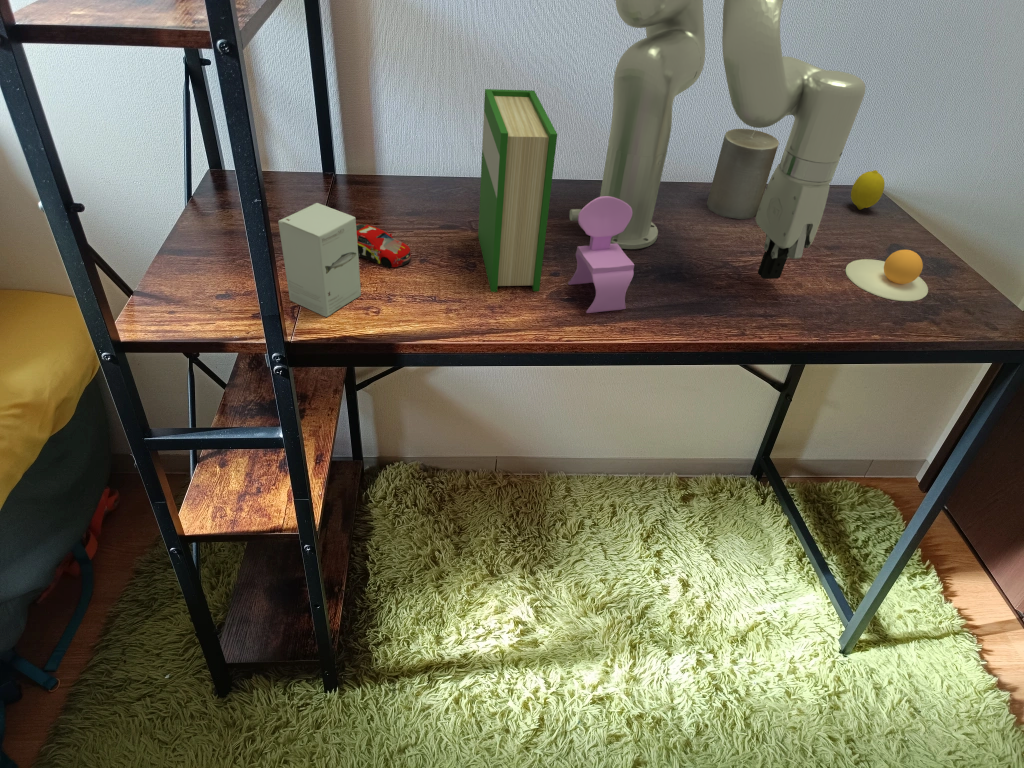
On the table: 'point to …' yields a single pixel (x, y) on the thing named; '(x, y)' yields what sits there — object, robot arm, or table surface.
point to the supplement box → (321, 258)
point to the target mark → (883, 281)
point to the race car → (381, 247)
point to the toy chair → (604, 253)
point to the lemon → (867, 189)
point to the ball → (903, 266)
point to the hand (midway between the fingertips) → (768, 275)
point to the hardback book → (515, 186)
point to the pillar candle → (742, 173)
